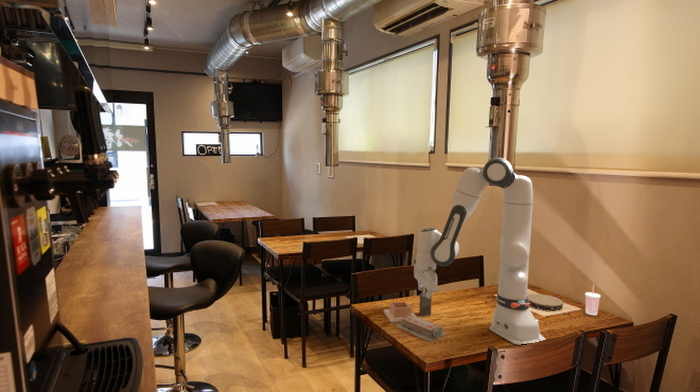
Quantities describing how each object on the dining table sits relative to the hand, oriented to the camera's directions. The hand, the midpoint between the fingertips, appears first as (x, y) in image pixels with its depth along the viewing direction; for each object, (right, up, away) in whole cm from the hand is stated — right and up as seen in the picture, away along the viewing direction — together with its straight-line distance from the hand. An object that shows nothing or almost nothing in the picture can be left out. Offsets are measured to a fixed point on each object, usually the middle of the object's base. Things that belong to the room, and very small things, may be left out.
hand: (424, 294), depth 184 cm
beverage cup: (+78, -10, +5) cm, 79 cm away
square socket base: (-11, -9, -2) cm, 15 cm away
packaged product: (-5, -12, -17) cm, 21 cm away
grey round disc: (+61, -9, +15) cm, 63 cm away
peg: (0, -9, +1) cm, 9 cm away
